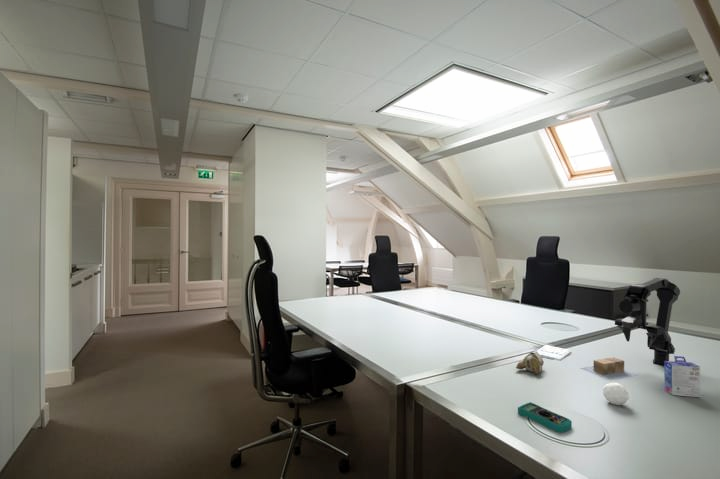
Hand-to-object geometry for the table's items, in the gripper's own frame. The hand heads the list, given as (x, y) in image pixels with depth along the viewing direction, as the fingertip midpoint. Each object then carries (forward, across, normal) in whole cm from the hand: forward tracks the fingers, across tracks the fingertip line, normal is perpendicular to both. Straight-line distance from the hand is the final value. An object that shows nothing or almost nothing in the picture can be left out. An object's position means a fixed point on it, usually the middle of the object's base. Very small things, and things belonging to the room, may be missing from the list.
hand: (638, 344), depth 166 cm
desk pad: (+12, -2, -17) cm, 21 cm away
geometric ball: (+12, +21, -46) cm, 52 cm away
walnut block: (+9, -2, -10) cm, 14 cm away
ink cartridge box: (+12, +24, -11) cm, 29 cm away
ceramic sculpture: (+12, -14, -50) cm, 53 cm away
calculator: (+13, -30, -20) cm, 38 cm away
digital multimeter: (+13, +22, -81) cm, 85 cm away
